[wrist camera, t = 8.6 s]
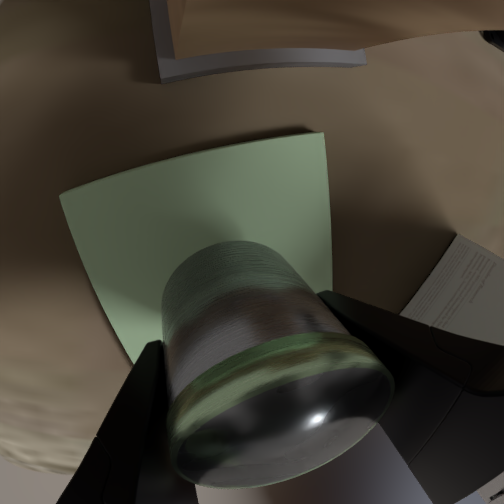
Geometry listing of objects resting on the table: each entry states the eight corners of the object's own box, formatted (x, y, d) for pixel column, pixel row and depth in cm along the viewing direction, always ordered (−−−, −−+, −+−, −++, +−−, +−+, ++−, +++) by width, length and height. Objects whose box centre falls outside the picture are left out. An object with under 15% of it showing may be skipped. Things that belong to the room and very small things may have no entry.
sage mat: (315, 131, 10) (323, 132, 9) (326, 324, 14) (331, 331, 13) (64, 191, 8) (58, 195, 8) (147, 377, 12) (148, 387, 12)
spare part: (294, 220, 8) (416, 320, 4) (303, 336, 10) (374, 441, 6) (136, 261, 8) (122, 420, 3) (183, 372, 10) (210, 500, 5)
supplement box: (386, 325, 16) (522, 472, 5) (457, 229, 14) (613, 334, 3) (422, 353, 19) (517, 455, 8) (477, 280, 18) (584, 364, 7)
